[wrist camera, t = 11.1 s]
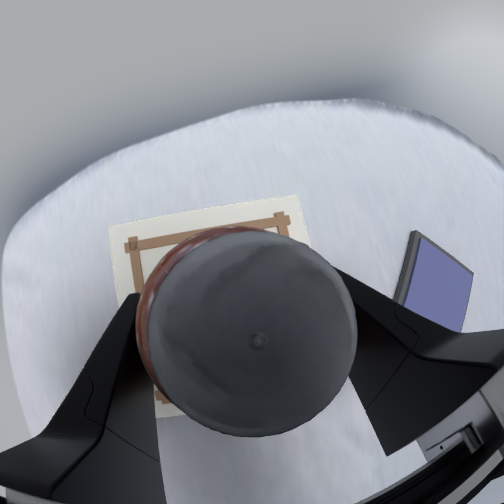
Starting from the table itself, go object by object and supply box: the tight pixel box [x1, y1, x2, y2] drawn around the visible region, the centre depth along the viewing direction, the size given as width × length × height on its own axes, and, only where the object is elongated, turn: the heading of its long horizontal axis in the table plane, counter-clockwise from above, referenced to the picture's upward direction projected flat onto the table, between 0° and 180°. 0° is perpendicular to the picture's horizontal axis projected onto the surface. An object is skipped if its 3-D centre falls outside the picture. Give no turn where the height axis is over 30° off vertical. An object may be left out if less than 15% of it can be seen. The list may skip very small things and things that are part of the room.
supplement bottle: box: [135, 226, 357, 437], centre depth 10 cm, size 6×6×11 cm
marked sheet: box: [108, 195, 311, 418], centre depth 17 cm, size 13×13×1 cm
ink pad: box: [393, 230, 474, 333], centre depth 19 cm, size 9×9×1 cm
